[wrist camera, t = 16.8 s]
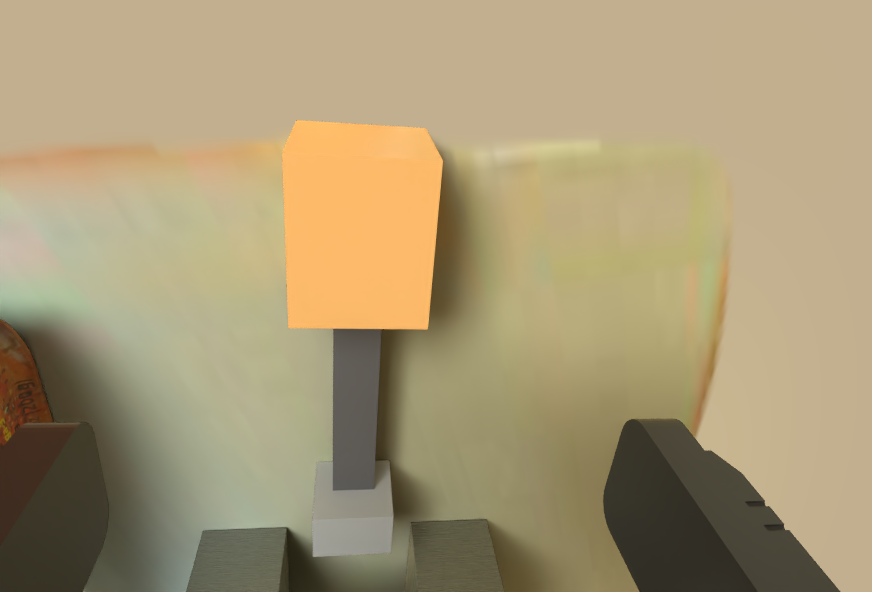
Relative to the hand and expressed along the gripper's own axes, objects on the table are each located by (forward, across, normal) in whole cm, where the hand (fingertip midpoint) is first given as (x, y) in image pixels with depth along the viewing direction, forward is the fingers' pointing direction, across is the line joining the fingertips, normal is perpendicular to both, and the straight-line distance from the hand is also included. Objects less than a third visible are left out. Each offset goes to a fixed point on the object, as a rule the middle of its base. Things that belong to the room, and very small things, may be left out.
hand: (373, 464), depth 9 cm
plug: (+12, 0, +5) cm, 13 cm away
